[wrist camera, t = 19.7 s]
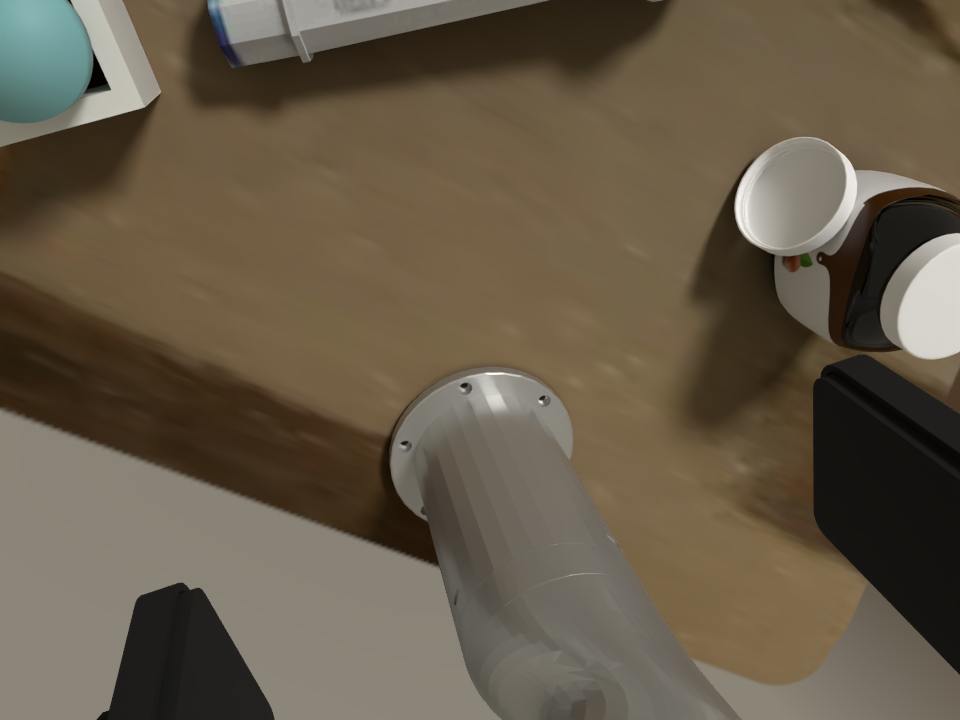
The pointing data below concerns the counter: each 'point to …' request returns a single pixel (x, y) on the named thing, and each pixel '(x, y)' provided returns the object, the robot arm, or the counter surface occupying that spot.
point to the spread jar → (856, 249)
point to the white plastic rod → (329, 23)
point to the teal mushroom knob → (41, 59)
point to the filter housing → (120, 65)
